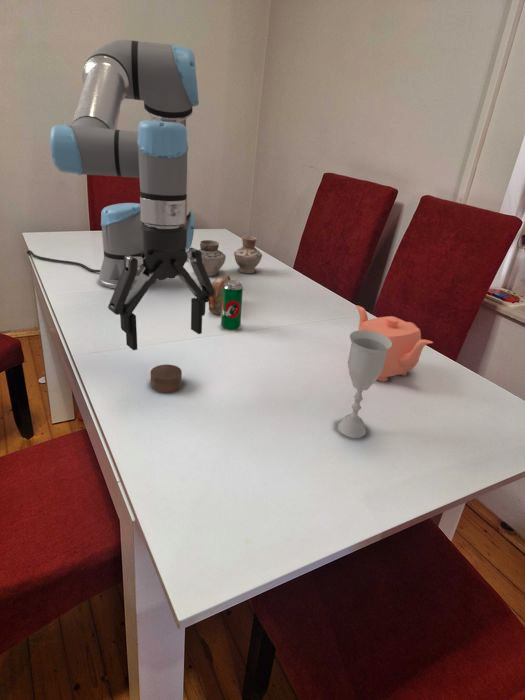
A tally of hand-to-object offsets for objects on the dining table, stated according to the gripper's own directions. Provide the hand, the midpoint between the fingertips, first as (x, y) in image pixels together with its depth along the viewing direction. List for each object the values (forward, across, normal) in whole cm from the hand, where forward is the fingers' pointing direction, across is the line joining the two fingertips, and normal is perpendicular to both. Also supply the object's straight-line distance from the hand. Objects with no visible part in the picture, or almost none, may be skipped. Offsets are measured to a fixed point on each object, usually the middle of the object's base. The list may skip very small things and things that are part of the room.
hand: (165, 339), depth 85 cm
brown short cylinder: (+10, 0, 0) cm, 10 cm away
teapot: (+10, +44, -20) cm, 49 cm away
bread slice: (+10, +33, +28) cm, 45 cm away
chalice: (+10, +20, -31) cm, 38 cm away
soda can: (+10, +28, +16) cm, 34 cm away
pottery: (+10, +55, +54) cm, 78 cm away
